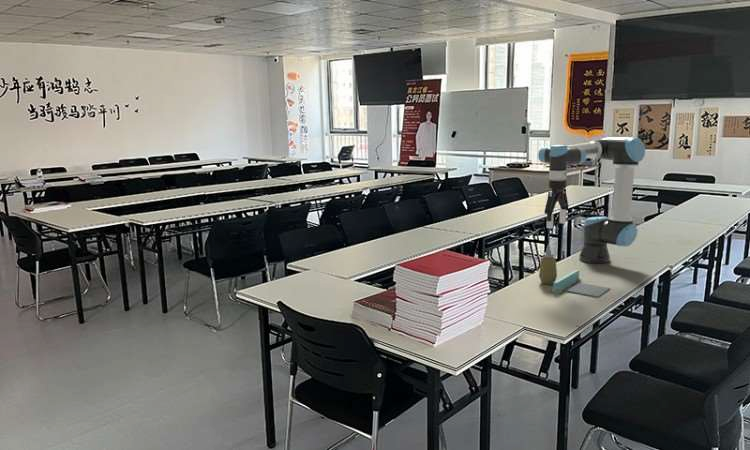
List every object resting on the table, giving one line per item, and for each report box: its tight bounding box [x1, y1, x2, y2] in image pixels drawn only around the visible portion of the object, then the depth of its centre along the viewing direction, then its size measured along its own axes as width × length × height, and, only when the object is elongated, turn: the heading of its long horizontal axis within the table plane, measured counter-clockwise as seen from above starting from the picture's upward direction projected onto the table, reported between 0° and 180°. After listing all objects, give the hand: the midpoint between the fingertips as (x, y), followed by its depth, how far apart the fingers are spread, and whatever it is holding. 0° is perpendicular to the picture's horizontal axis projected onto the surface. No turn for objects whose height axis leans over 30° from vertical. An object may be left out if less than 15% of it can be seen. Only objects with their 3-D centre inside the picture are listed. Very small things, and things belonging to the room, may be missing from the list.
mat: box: [565, 282, 611, 299], centre depth 247 cm, size 14×14×1 cm
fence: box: [550, 269, 582, 295], centre depth 253 cm, size 4×24×5 cm, turn 138°
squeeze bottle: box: [538, 245, 558, 286], centre depth 258 cm, size 8×8×18 cm
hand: (556, 225), depth 255 cm, fingers open, 13 cm apart
